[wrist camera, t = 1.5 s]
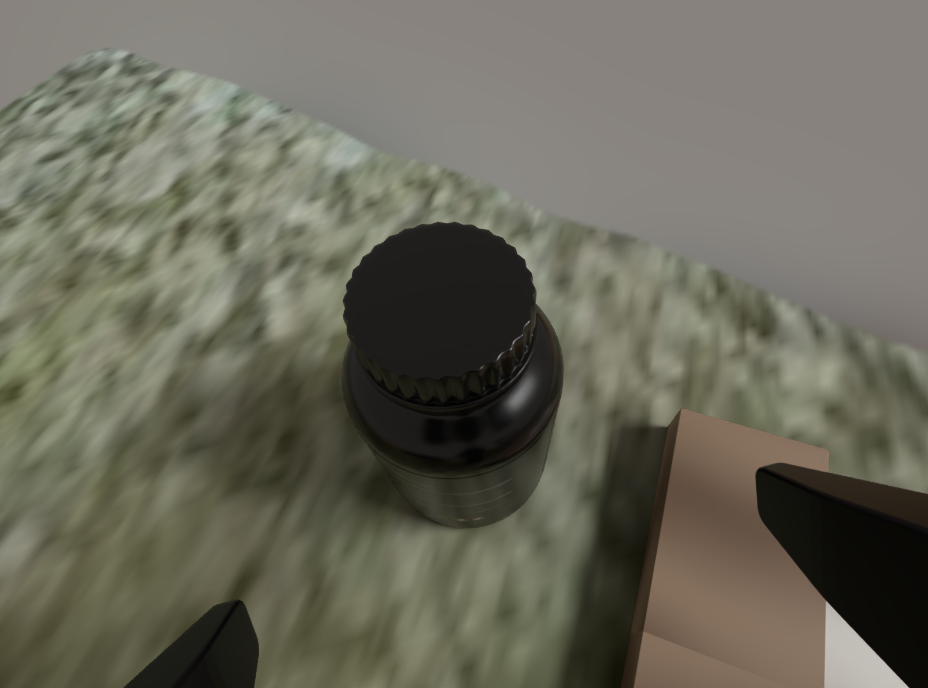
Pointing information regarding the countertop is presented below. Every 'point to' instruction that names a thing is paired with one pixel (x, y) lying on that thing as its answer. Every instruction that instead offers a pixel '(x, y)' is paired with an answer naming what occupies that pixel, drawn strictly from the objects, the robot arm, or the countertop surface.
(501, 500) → the supplement bottle
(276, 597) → the countertop surface
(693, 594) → the notched shelf board
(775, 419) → the countertop surface
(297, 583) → the countertop surface
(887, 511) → the robot arm
